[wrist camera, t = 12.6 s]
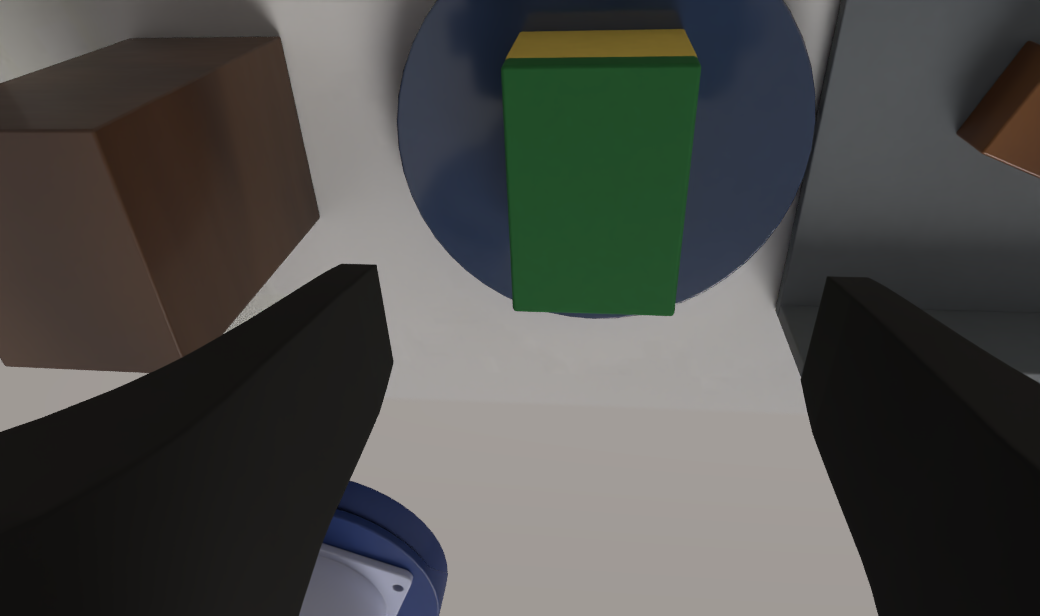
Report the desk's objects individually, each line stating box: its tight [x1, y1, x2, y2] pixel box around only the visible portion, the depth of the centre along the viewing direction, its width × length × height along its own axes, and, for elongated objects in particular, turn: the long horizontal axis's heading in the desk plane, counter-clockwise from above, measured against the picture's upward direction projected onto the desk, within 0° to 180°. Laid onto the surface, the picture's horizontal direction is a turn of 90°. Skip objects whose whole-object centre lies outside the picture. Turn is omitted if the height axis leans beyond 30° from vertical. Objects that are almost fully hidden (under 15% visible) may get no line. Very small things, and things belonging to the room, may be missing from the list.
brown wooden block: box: [0, 36, 320, 373], centre depth 17 cm, size 4×6×8 cm
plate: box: [397, 0, 815, 319], centre depth 18 cm, size 11×11×1 cm
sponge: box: [501, 29, 701, 316], centre depth 16 cm, size 4×6×4 cm, turn 2°
